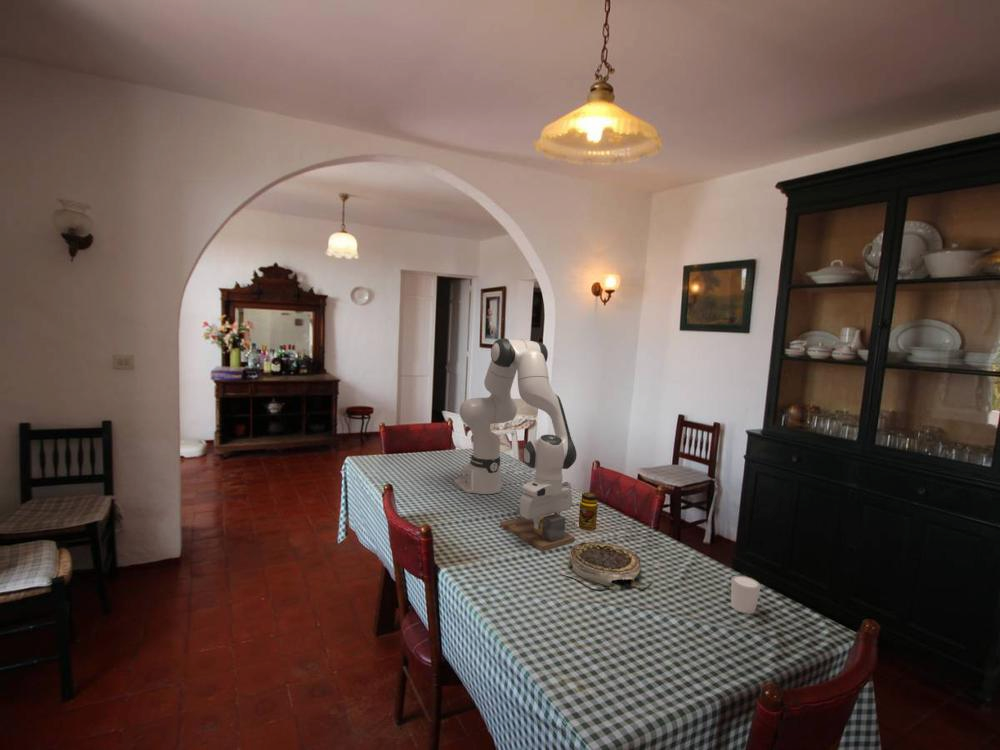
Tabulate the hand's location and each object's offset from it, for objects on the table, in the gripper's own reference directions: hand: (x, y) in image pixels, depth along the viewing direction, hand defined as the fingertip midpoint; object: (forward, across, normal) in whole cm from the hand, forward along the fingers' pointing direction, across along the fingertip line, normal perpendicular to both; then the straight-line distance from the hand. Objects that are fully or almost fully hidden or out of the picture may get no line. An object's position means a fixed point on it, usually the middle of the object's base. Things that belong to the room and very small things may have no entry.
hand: (545, 526), depth 165 cm
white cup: (+4, -17, +58) cm, 60 cm away
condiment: (+4, -20, 0) cm, 21 cm away
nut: (+2, 0, 0) cm, 2 cm away
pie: (+5, -2, +24) cm, 25 cm away
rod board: (+4, 0, -4) cm, 6 cm away
